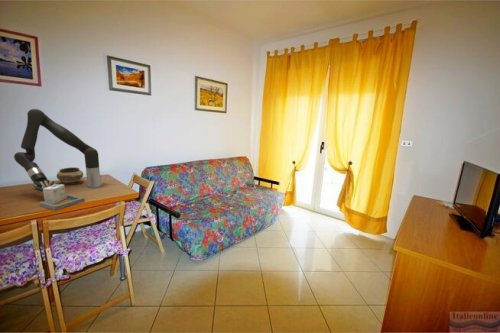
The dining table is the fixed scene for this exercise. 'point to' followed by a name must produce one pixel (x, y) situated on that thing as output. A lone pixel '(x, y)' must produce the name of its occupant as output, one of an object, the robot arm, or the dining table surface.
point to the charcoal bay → (63, 205)
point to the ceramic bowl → (70, 175)
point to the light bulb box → (54, 193)
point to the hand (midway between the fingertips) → (49, 194)
